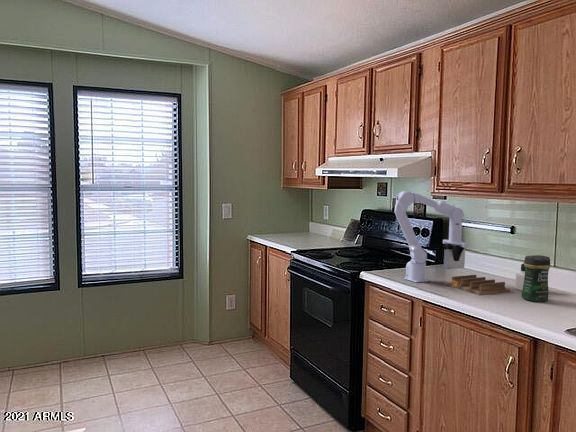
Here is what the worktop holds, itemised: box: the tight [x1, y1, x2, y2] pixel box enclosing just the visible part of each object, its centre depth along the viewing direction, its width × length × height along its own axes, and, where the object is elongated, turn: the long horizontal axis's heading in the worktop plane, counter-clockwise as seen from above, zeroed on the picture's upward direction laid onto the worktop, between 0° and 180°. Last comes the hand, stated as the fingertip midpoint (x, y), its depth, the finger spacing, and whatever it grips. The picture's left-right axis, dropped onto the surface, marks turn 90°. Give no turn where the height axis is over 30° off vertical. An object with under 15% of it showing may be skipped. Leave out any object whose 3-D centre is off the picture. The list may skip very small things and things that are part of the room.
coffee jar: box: [521, 254, 551, 303], centre depth 200 cm, size 10×8×19 cm
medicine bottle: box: [514, 262, 525, 292], centre depth 217 cm, size 7×7×12 cm
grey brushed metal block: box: [443, 248, 466, 270], centre depth 234 cm, size 3×10×9 cm, turn 113°
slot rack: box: [446, 274, 511, 295], centre depth 220 cm, size 20×18×4 cm
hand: (454, 260), depth 234 cm, fingers closed on grey brushed metal block, 3 cm apart
